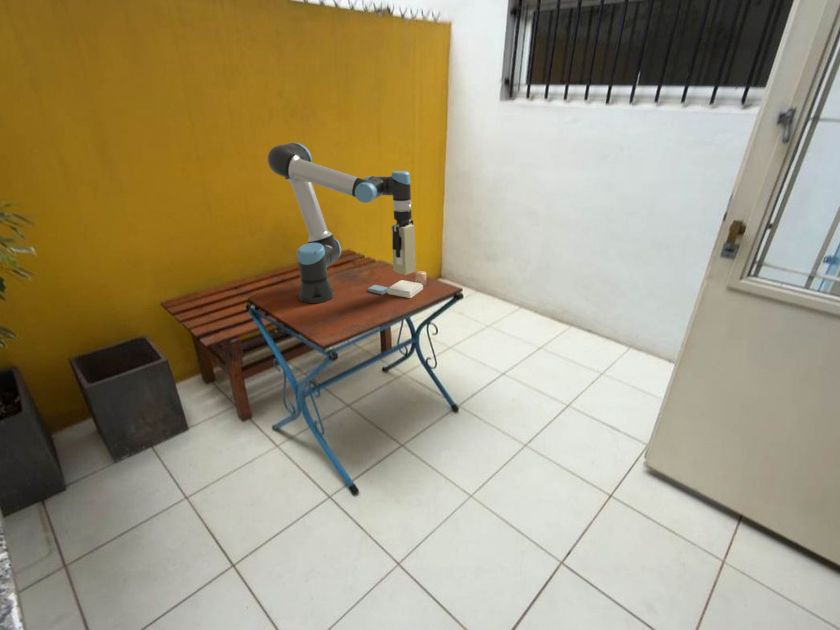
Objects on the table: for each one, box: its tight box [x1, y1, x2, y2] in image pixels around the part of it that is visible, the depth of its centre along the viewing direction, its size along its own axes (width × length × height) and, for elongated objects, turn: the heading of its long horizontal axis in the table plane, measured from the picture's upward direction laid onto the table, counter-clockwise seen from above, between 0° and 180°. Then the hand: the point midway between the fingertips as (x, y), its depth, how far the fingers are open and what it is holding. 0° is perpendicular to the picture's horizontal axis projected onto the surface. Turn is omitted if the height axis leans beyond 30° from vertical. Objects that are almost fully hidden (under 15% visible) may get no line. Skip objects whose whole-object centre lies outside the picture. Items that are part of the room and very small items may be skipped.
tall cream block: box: [391, 223, 417, 276], centre depth 190 cm, size 8×7×21 cm
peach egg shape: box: [415, 270, 427, 287], centre depth 204 cm, size 5×5×6 cm
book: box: [367, 284, 389, 295], centre depth 199 cm, size 8×5×2 cm, turn 57°
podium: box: [386, 279, 424, 299], centre depth 198 cm, size 12×12×3 cm
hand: (404, 261), depth 192 cm, fingers closed on tall cream block, 8 cm apart
